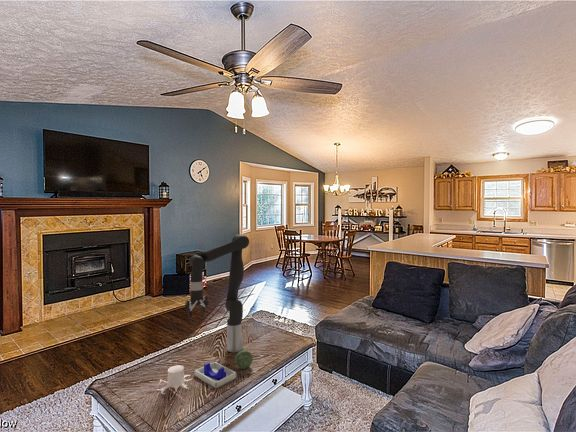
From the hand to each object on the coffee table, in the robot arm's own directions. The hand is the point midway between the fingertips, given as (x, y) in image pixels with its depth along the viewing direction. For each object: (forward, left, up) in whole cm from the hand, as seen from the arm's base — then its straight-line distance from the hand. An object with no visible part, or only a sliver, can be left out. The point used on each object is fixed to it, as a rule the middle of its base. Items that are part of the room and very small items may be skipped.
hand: (196, 315), depth 192 cm
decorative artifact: (-12, +30, -28) cm, 43 cm away
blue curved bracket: (+4, +24, -28) cm, 37 cm away
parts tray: (+4, +24, -28) cm, 37 cm away
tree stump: (+22, +13, -29) cm, 38 cm away
